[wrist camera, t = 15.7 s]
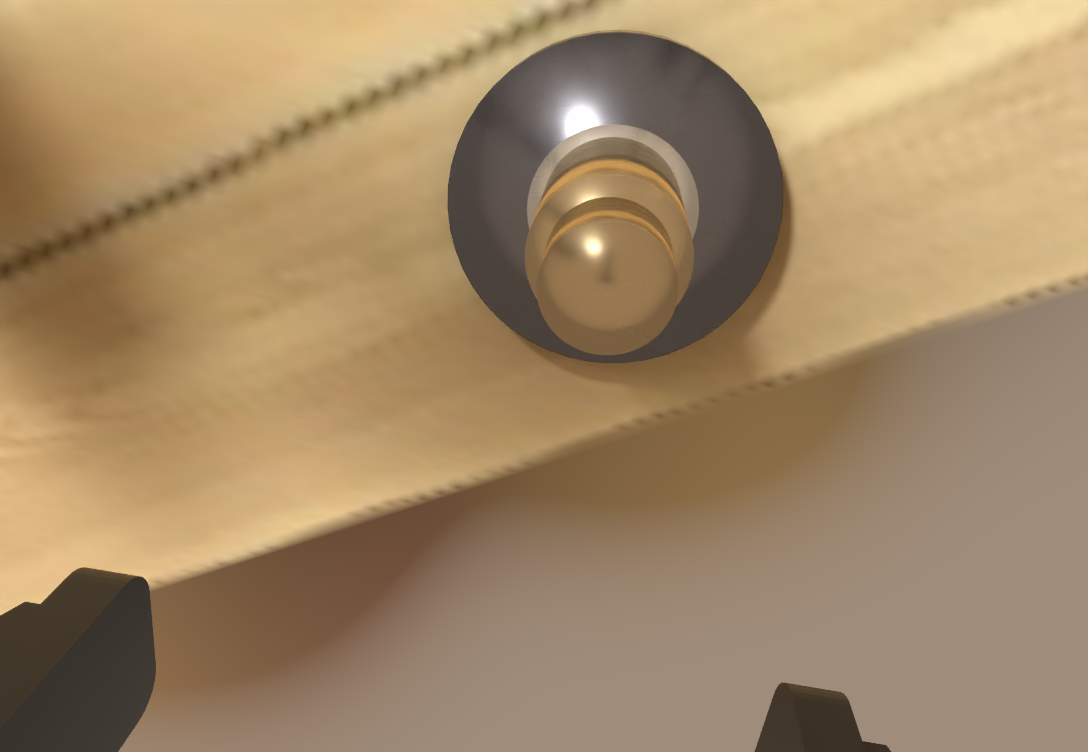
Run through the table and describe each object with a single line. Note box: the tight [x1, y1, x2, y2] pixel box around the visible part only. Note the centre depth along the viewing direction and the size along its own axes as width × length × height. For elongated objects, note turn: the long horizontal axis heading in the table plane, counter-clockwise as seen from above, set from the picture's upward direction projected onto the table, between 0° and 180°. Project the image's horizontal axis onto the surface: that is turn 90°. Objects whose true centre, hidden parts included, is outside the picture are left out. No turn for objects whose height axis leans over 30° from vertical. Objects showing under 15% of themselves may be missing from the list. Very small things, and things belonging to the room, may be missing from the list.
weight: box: [525, 137, 694, 355], centre depth 30 cm, size 6×6×10 cm
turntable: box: [448, 30, 783, 363], centre depth 35 cm, size 14×14×2 cm
